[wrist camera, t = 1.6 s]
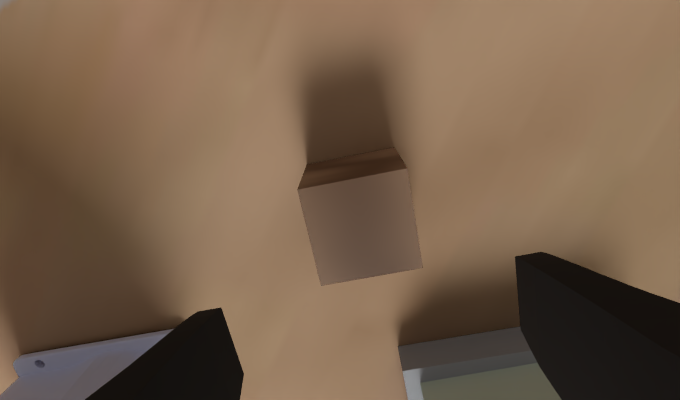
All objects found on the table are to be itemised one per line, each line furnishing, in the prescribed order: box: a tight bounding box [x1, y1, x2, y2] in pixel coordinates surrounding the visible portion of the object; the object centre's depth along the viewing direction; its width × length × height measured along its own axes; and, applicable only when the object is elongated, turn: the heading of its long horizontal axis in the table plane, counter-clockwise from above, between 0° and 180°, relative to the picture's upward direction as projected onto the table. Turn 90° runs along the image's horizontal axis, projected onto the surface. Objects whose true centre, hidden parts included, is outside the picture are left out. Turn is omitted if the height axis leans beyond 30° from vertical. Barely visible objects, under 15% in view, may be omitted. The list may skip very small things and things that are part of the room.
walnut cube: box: [297, 147, 423, 286], centre depth 17 cm, size 4×4×4 cm
